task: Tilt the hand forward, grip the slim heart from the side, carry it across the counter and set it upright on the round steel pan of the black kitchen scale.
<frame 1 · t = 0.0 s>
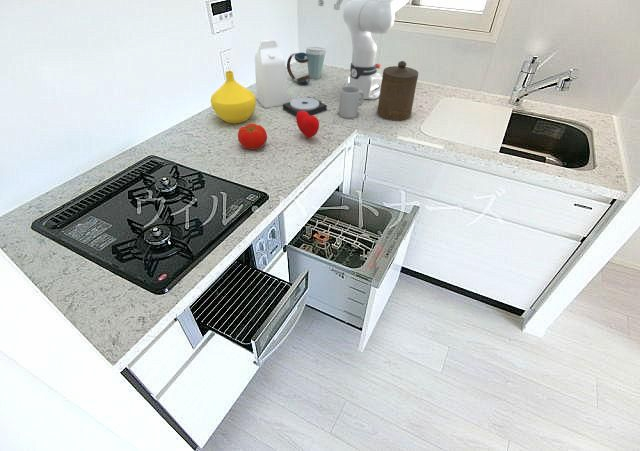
hand: (328, 7, 132), 39 cm above the worktop, tool pointing down, fingers open, 8 cm apart
tomato: (253, 146, 128), on the worktop
scale: (304, 109, 153), on the worktop
headphones: (302, 84, 178), on the worktop
wooden container: (393, 114, 152), on the worktop
milk: (272, 101, 160), on the worktop
disposable coffee cup: (315, 77, 187), on the worktop
mug: (351, 113, 151), on the worktop
vase: (236, 119, 145), on the worktop
heart: (307, 138, 133), on the worktop
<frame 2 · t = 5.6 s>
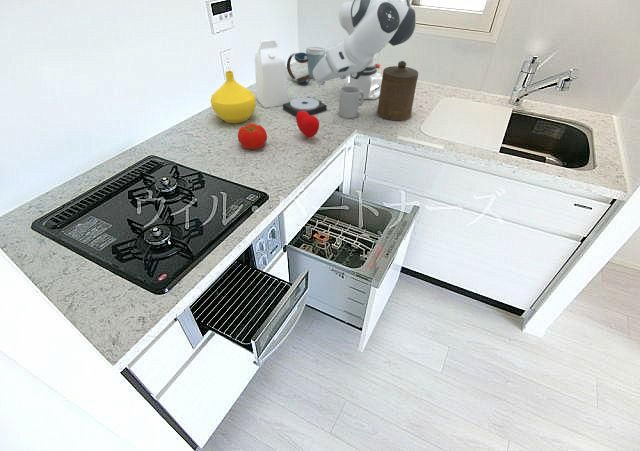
hand: (330, 80, 109), 26 cm above the worktop, tool tilted 45°, fingers open, 8 cm apart
nothing on the worktop moved.
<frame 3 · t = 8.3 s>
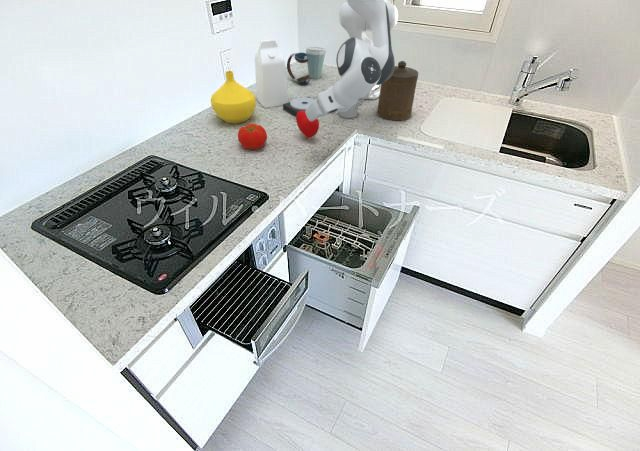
hand: (322, 115, 120), 12 cm above the worktop, tool tilted 45°, fingers open, 8 cm apart
nothing on the worktop moved.
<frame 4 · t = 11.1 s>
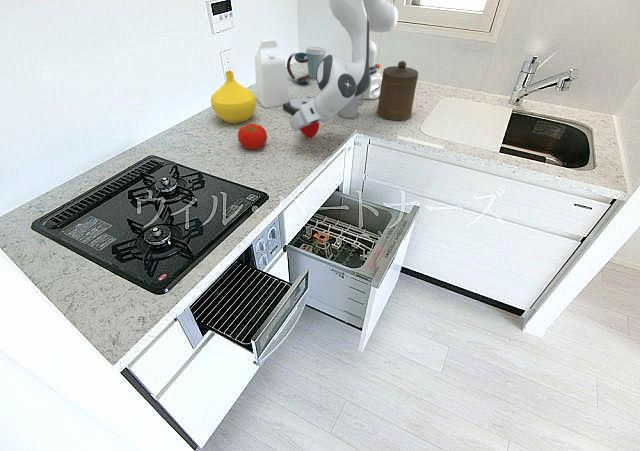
hand: (306, 124, 130), 5 cm above the worktop, tool tilted 45°, fingers closed on heart, 5 cm apart
heart: (307, 138, 133), on the worktop, touching gripper
everything else where it was.
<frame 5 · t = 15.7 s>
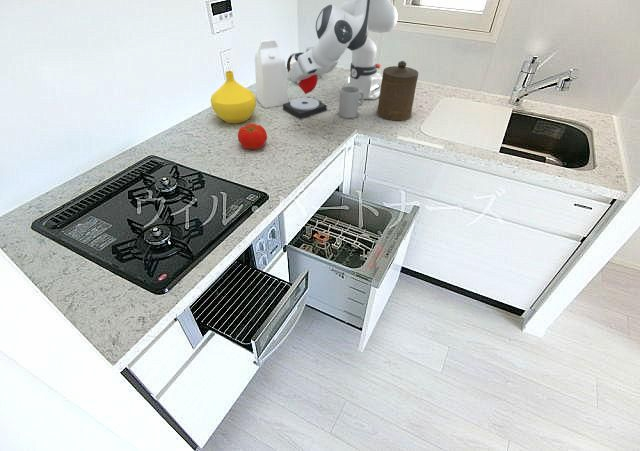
hand: (304, 79, 134), 17 cm above the worktop, tool tilted 45°, fingers closed on heart, 5 cm apart
heart: (306, 94, 137), point 11 cm above the worktop, touching gripper
everything else where it was.
when the fingers open (8 cm above the worktop, at t = 20.2 s): heart stays where it is, resting on scale.
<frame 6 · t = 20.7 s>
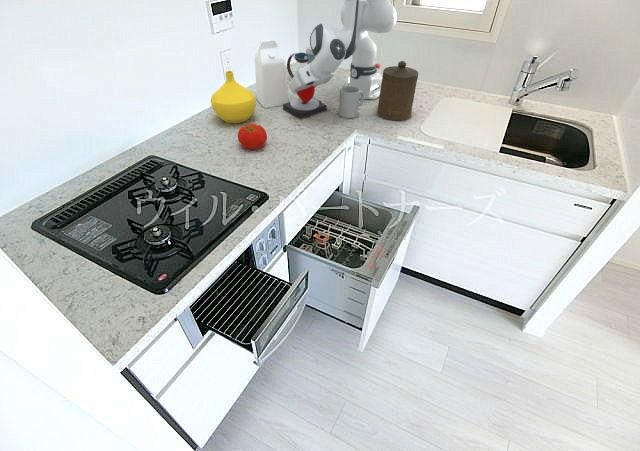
hand: (303, 89, 148), 9 cm above the worktop, tool tilted 45°, fingers open, 8 cm apart
heart: (304, 103, 151), point 3 cm above the worktop, touching scale
everything else where it was.
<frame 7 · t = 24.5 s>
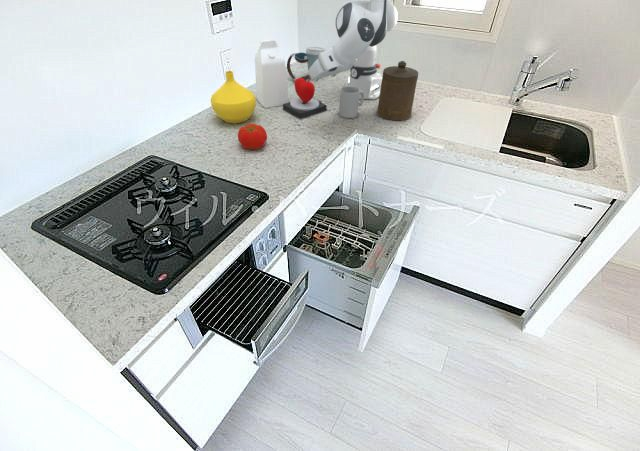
hand: (323, 77, 135), 17 cm above the worktop, tool tilted 45°, fingers open, 8 cm apart
nothing on the worktop moved.
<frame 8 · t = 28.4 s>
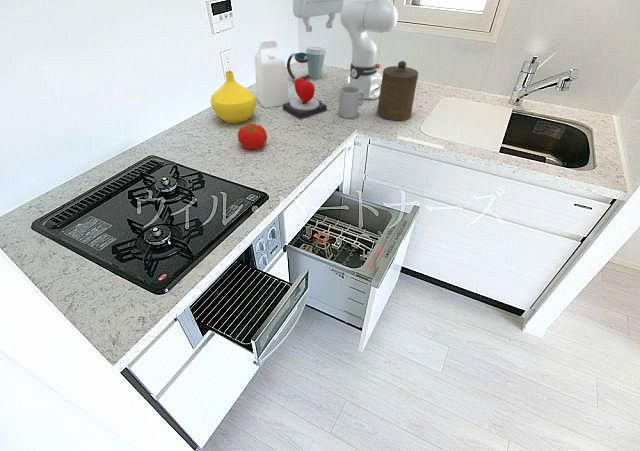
hand: (319, 29, 120), 35 cm above the worktop, tool pointing down, fingers open, 8 cm apart
nothing on the worktop moved.
at the end: heart inside the target area on the scale (0.1 cm from its centre), point 3.0 cm above the scale's base; heart tilted 0°; the gripper is holding nothing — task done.
